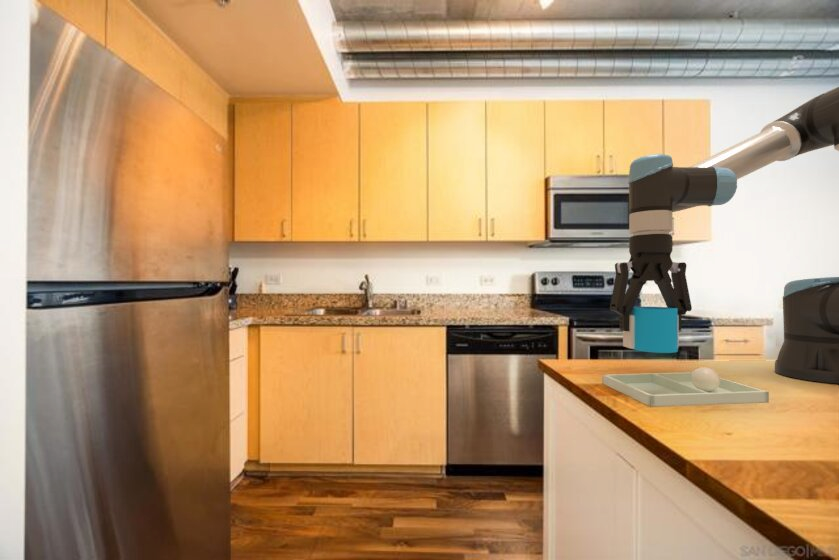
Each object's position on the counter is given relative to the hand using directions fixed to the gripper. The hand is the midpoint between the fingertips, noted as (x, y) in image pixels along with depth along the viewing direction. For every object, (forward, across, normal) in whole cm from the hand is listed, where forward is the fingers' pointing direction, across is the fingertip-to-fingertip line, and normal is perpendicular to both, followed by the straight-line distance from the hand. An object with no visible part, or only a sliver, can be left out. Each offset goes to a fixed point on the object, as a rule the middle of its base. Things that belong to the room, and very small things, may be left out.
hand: (650, 346), depth 79 cm
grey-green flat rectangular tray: (+10, -6, 0) cm, 12 cm away
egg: (+9, -12, 0) cm, 15 cm away
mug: (0, -1, 0) cm, 1 cm away
